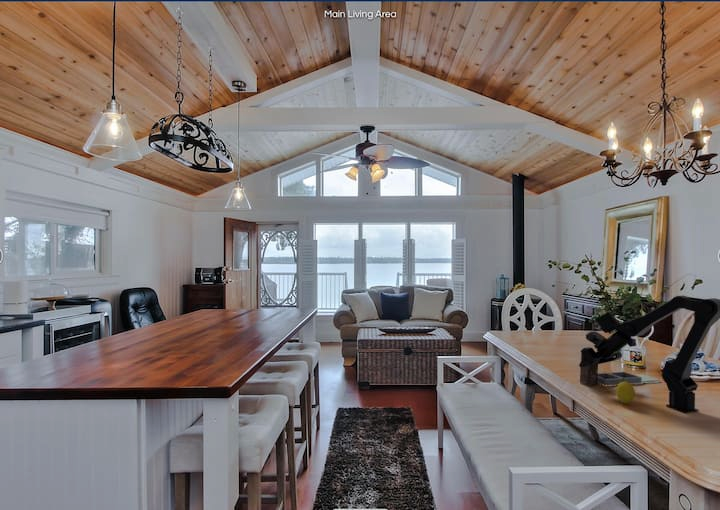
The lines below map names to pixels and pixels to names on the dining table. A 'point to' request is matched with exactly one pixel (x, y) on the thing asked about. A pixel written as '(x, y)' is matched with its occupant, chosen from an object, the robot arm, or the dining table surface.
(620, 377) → the tray
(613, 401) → the dining table surface
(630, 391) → the lemon
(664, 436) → the dining table surface
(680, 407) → the robot arm
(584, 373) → the box
